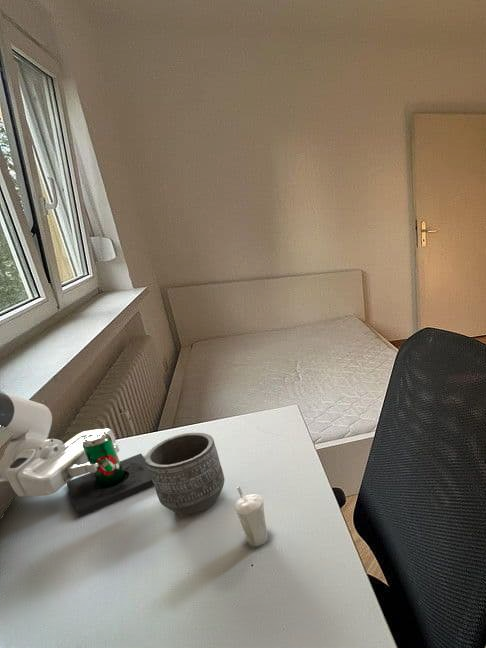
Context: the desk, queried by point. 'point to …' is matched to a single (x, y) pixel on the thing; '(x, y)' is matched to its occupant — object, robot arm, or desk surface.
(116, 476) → the soda can
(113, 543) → the desk surface
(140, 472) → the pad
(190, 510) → the planter
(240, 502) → the milkshake
